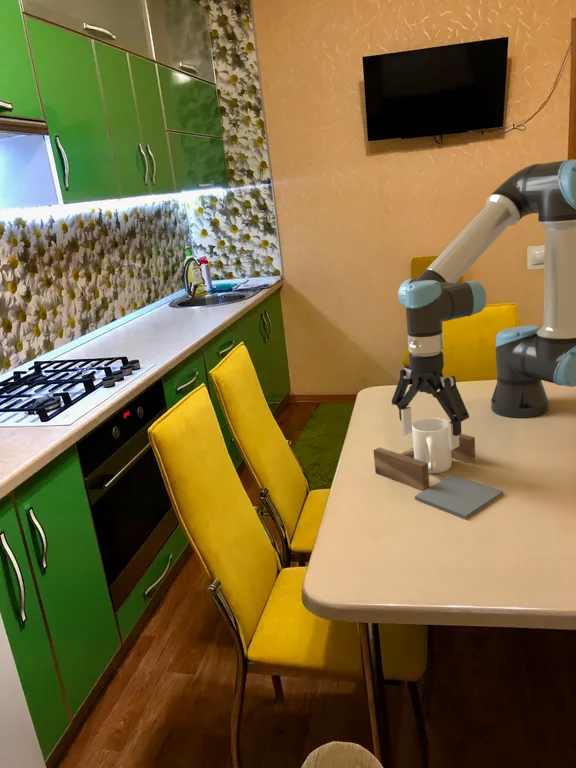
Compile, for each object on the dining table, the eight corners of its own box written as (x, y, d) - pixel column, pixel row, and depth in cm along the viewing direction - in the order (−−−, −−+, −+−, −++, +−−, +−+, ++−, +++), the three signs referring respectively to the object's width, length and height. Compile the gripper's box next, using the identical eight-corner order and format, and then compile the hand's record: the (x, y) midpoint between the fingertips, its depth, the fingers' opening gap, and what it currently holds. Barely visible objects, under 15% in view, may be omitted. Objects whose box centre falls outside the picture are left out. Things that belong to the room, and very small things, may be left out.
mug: (413, 481, 141) (409, 438, 137) (415, 458, 152) (412, 418, 148) (452, 481, 138) (449, 437, 135) (452, 458, 149) (449, 417, 146)
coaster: (452, 477, 140) (452, 474, 140) (503, 494, 130) (503, 490, 130) (415, 499, 133) (414, 496, 132) (465, 519, 123) (465, 515, 122)
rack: (427, 446, 158) (425, 424, 156) (475, 460, 146) (474, 437, 145) (375, 473, 147) (373, 450, 145) (423, 491, 136) (421, 466, 134)
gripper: (372, 349, 144) (379, 433, 150) (462, 364, 125) (465, 460, 131) (394, 341, 148) (400, 424, 154) (484, 355, 129) (486, 448, 135)
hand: (429, 440), depth 142 cm, fingers open, 13 cm apart
